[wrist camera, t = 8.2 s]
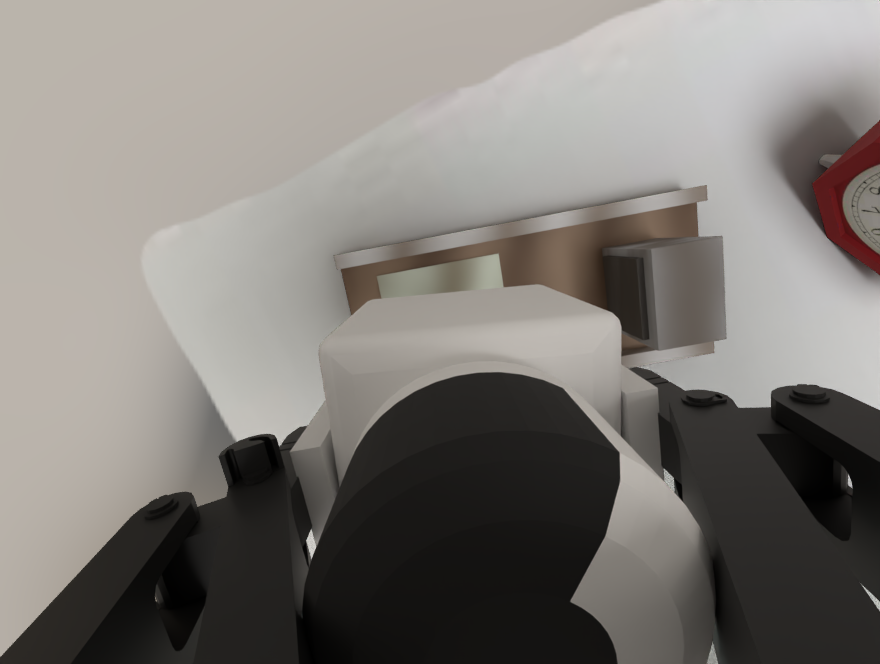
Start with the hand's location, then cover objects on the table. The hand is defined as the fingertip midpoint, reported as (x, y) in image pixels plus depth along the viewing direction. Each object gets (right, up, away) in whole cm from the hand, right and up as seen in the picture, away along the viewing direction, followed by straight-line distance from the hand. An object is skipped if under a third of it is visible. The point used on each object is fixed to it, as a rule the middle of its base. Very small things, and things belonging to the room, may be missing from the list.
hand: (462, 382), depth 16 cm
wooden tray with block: (+5, +4, +16) cm, 17 cm away
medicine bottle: (0, 0, +1) cm, 1 cm away
